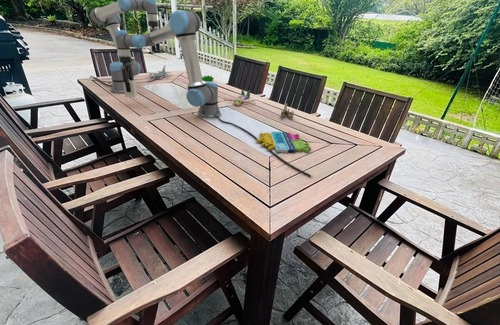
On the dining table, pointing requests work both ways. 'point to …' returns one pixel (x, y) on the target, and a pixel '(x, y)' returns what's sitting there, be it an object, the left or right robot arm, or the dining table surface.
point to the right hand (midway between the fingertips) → (130, 90)
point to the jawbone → (287, 112)
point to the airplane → (158, 75)
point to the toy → (241, 99)
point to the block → (133, 89)
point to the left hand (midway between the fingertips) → (156, 50)
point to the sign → (283, 142)
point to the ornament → (207, 78)
